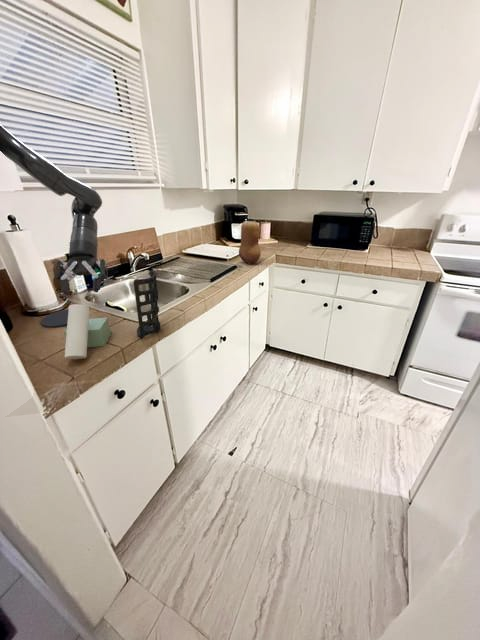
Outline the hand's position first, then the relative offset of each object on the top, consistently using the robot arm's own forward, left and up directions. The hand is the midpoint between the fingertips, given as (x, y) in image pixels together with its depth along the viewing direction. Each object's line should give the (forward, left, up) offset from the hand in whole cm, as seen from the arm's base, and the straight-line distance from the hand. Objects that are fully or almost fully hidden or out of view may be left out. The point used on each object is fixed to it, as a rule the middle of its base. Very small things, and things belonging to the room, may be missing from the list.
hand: (80, 292), depth 78 cm
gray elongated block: (0, -9, -16) cm, 18 cm away
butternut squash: (+67, +80, -16) cm, 105 cm away
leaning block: (0, -2, -16) cm, 16 cm away
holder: (+18, +2, -16) cm, 24 cm away
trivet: (-16, +16, -16) cm, 28 cm away
